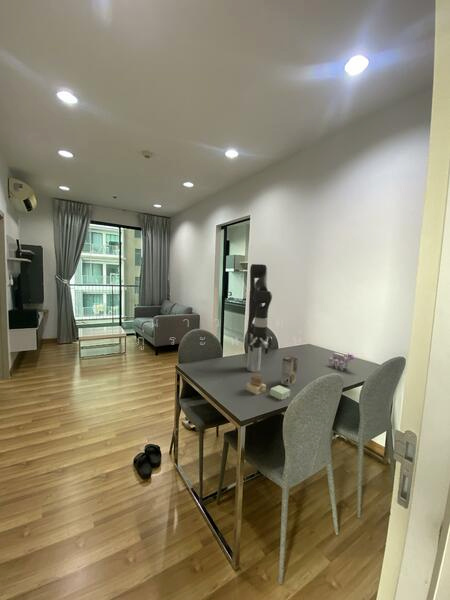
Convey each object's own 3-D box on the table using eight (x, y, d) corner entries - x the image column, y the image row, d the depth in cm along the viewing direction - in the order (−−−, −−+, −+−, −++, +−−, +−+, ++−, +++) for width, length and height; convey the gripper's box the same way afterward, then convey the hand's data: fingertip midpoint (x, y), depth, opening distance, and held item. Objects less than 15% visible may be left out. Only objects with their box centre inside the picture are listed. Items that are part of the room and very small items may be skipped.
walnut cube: (253, 381, 157) (254, 373, 157) (261, 383, 155) (262, 375, 155) (251, 384, 153) (251, 376, 152) (259, 386, 151) (260, 378, 150)
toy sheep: (359, 372, 194) (360, 354, 192) (351, 375, 188) (352, 357, 186) (334, 363, 210) (335, 347, 209) (326, 366, 204) (327, 349, 202)
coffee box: (286, 379, 173) (288, 355, 172) (296, 382, 169) (298, 357, 168) (280, 383, 166) (282, 358, 165) (289, 386, 162) (291, 361, 161)
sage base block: (278, 391, 155) (279, 385, 154) (290, 396, 149) (290, 390, 148) (270, 395, 149) (270, 388, 149) (281, 400, 144) (282, 393, 143)
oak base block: (255, 386, 160) (256, 380, 159) (265, 391, 154) (266, 385, 154) (246, 390, 155) (246, 383, 154) (256, 395, 149) (257, 388, 148)
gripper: (274, 325, 150) (272, 353, 152) (251, 322, 157) (249, 348, 158) (270, 328, 144) (268, 356, 146) (246, 324, 150) (245, 352, 152)
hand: (258, 352), depth 152 cm, fingers open, 8 cm apart
